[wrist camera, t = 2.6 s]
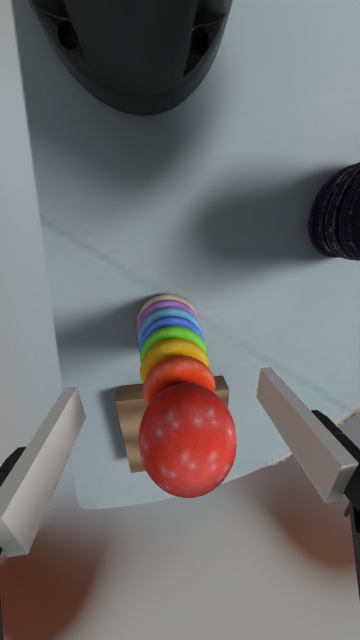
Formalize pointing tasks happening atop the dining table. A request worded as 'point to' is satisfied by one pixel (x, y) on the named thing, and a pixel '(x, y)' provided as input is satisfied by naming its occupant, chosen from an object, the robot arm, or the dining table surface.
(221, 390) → the walnut base
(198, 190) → the dining table surface
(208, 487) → the stacking toy
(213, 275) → the dining table surface
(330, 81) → the dining table surface
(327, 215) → the storage jar
